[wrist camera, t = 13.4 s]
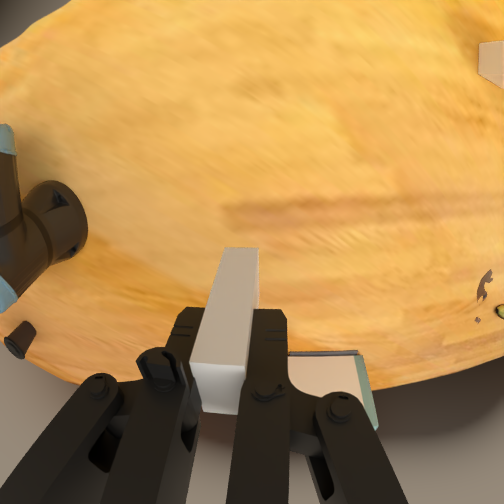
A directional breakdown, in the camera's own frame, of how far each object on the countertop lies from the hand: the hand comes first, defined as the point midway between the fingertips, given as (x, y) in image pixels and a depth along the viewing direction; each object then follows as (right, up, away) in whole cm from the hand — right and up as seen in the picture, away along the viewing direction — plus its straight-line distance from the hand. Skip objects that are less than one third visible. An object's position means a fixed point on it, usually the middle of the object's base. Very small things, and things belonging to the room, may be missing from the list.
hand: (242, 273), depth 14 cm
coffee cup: (-63, -20, +49) cm, 82 cm away
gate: (+13, -20, +42) cm, 48 cm away
